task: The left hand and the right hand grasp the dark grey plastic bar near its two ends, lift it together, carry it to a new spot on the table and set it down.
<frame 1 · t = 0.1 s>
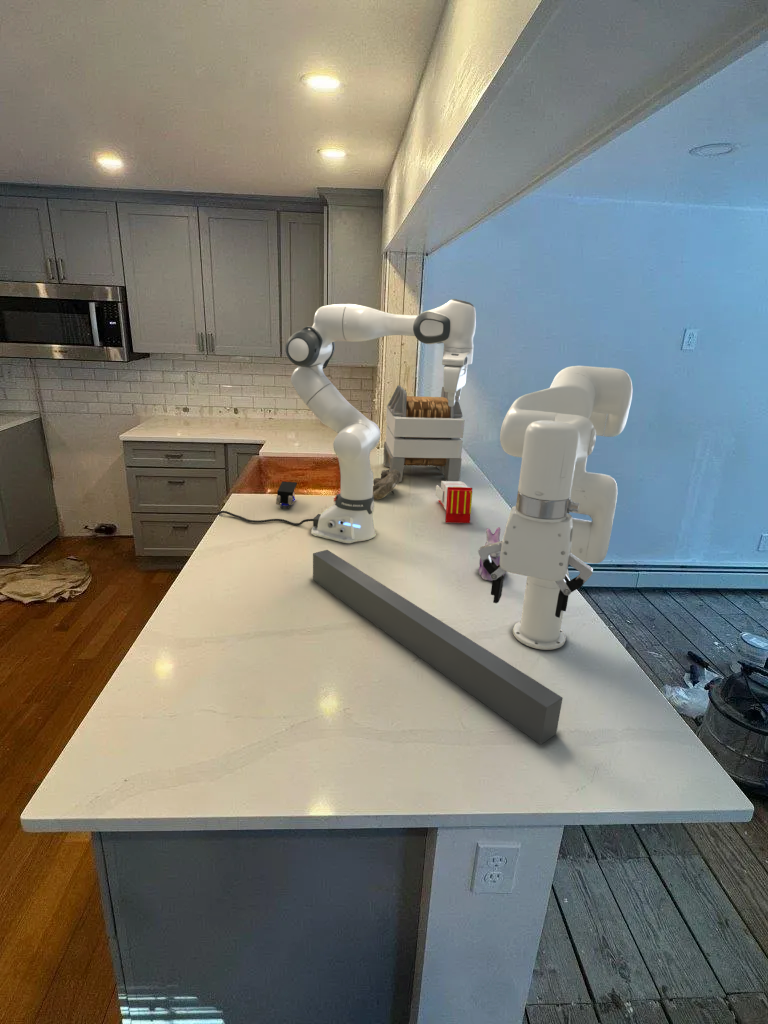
left hand: (453, 403, 174), 48 cm above the counter, tool pointing down, fingers open, 8 cm apart
right hand: (527, 606, 90), 31 cm above the counter, tool pointing down, fingers open, 9 cm apart
bar: (409, 641, 136), on the counter
toy: (452, 511, 225), on the counter
fossil: (384, 493, 242), on the counter
grey slatted crate stand: (419, 473, 275), on the counter
figurine: (491, 575, 172), on the counter
figurine character: (286, 504, 224), on the counter
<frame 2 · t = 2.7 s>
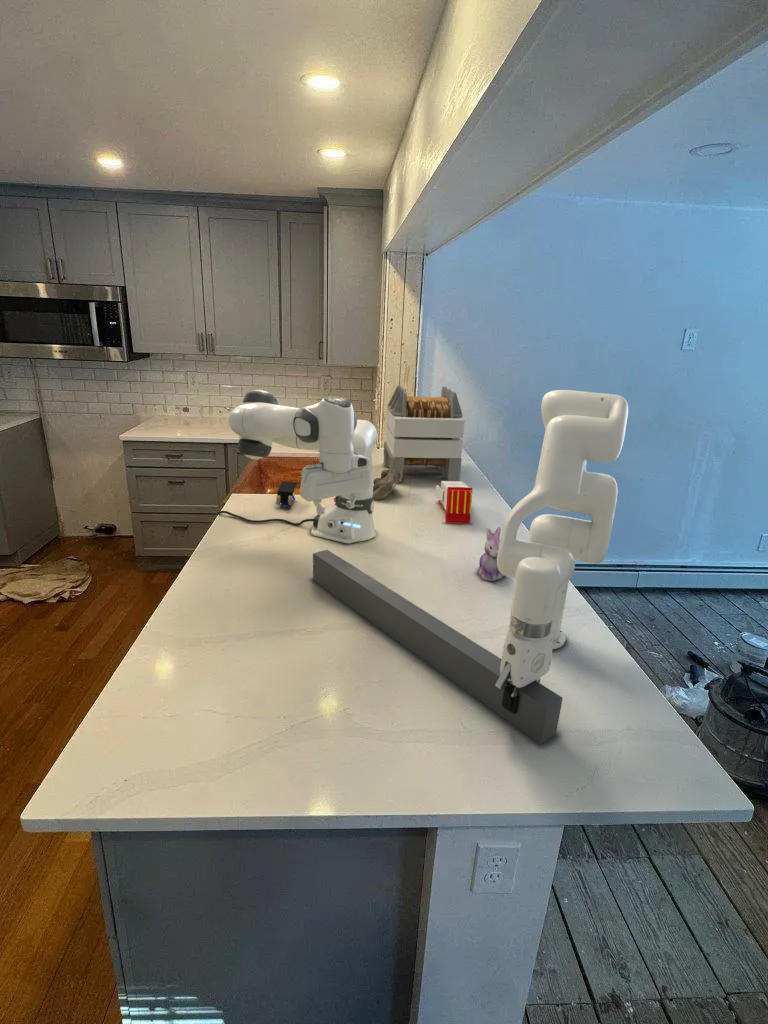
left hand: (335, 510, 152), 23 cm above the counter, tool pointing down, fingers open, 8 cm apart
right hand: (518, 703, 111), 3 cm above the counter, tool pointing down, fingers closed on bar, 4 cm apart
bar: (409, 641, 136), on the counter, touching right hand
everything else where it was.
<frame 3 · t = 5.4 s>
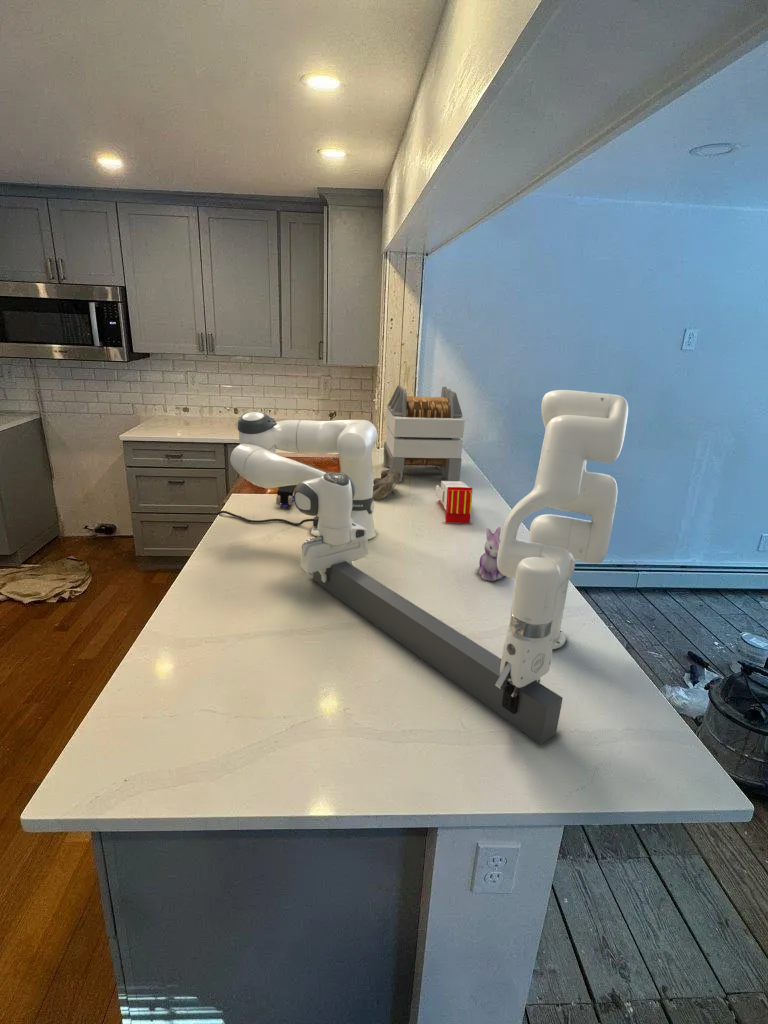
left hand: (334, 578, 159), 3 cm above the counter, tool pointing down, fingers closed on bar, 5 cm apart
right hand: (518, 703, 111), 3 cm above the counter, tool pointing down, fingers closed on bar, 4 cm apart
bar: (409, 641, 136), on the counter, touching left hand, right hand
everything else where it was.
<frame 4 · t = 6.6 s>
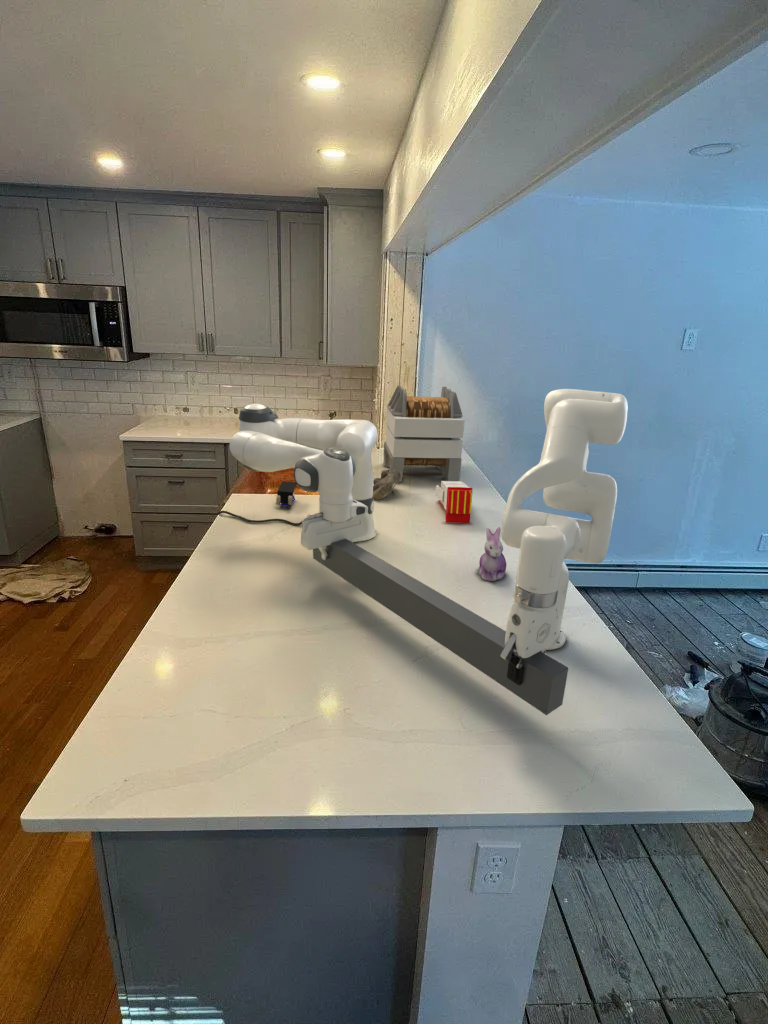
left hand: (335, 556, 157), 10 cm above the counter, tool pointing down, fingers closed on bar, 5 cm apart
right hand: (523, 674, 109), 9 cm above the counter, tool pointing down, fingers closed on bar, 4 cm apart
bar: (411, 616, 134), point 6 cm above the counter, touching left hand, right hand
everything else where it was.
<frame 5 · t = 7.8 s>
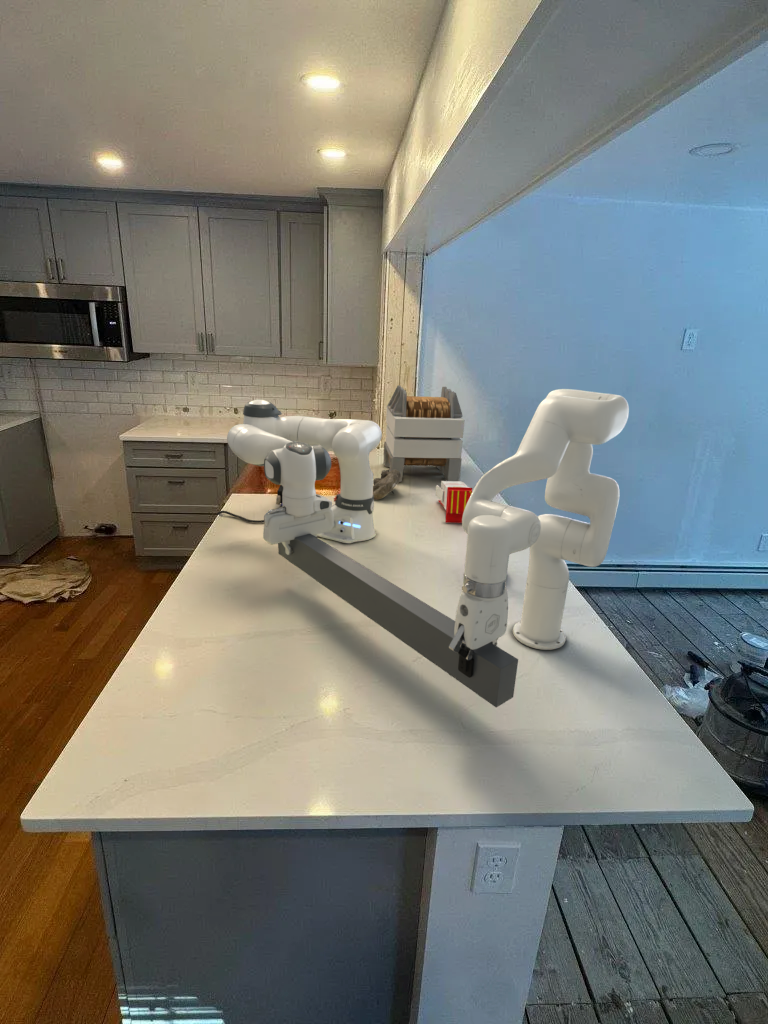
left hand: (299, 551, 156), 11 cm above the counter, tool pointing down, fingers closed on bar, 5 cm apart
right hand: (475, 667, 108), 11 cm above the counter, tool pointing down, fingers closed on bar, 4 cm apart
bar: (371, 610, 133), point 8 cm above the counter, touching left hand, right hand
everything else where it was.
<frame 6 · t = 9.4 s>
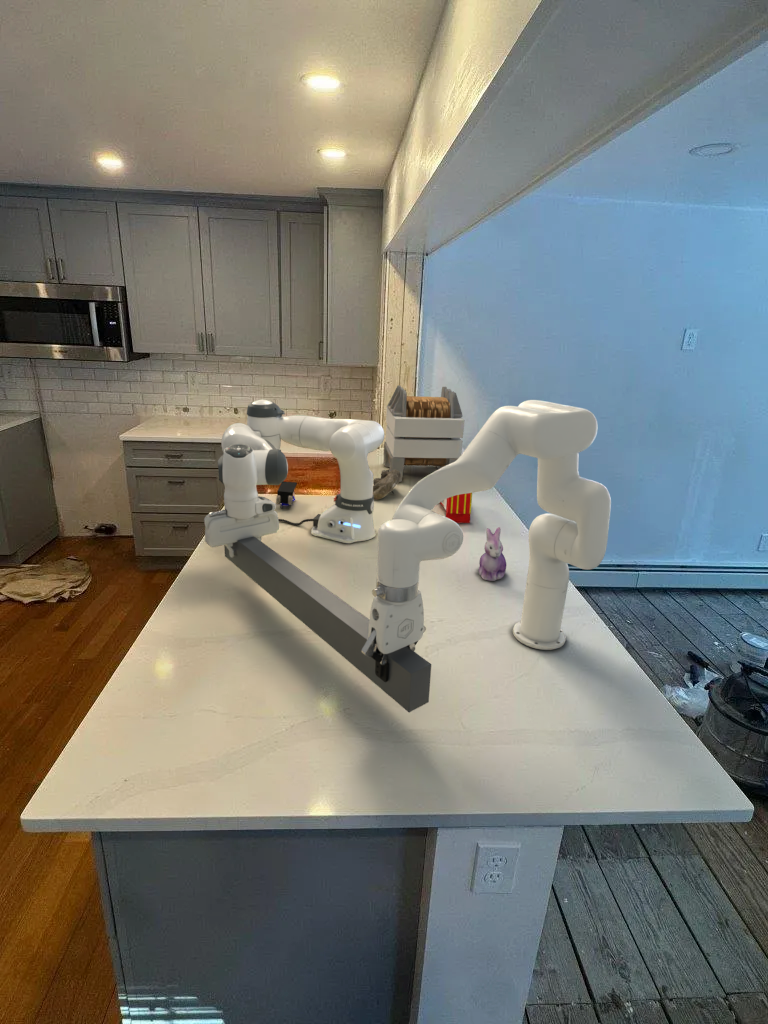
left hand: (244, 553, 156), 10 cm above the counter, tool pointing down, fingers closed on bar, 5 cm apart
right hand: (393, 672, 108), 10 cm above the counter, tool pointing down, fingers closed on bar, 4 cm apart
bar: (305, 614, 133), point 7 cm above the counter, touching left hand, right hand
everything else where it was.
when the left hand's fingers open (5 cm above the counter, at t = 10.5 s): bar stays where it is, on the counter.
when the right hand's fingers open (4 cm above the counter, at t = 10.5 s): bar stays where it is, on the counter.
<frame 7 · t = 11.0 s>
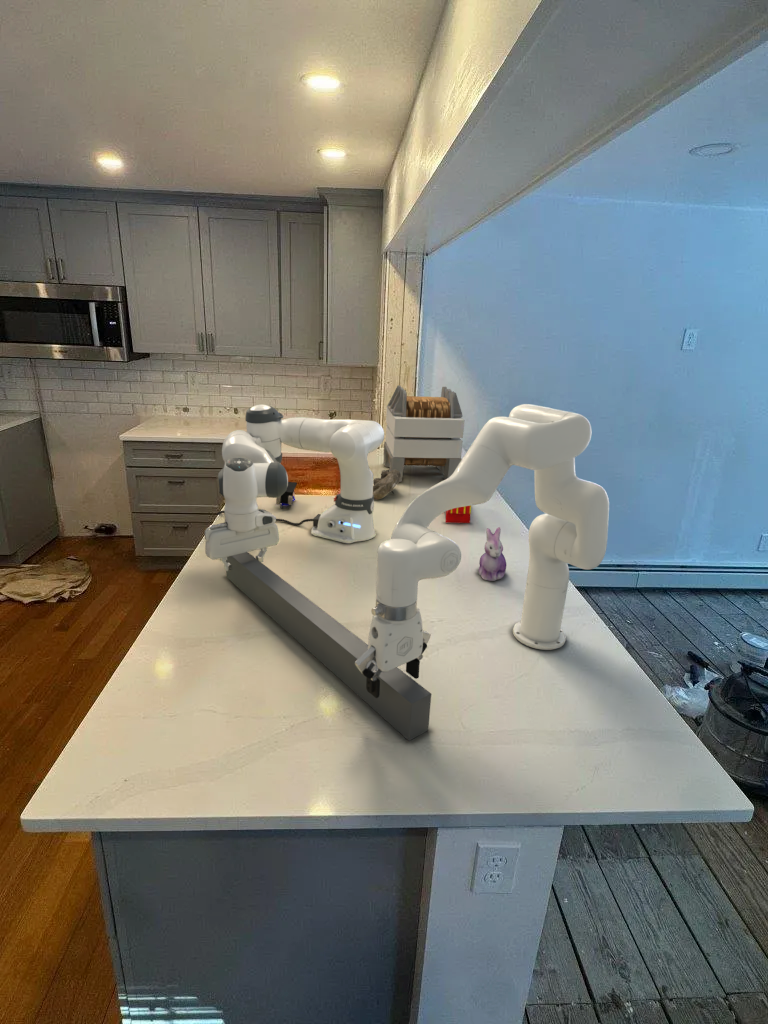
left hand: (244, 565, 157), 6 cm above the counter, tool pointing down, fingers open, 8 cm apart
right hand: (393, 684, 109), 7 cm above the counter, tool pointing down, fingers open, 9 cm apart
bar: (306, 638, 135), on the counter
everything else where it was.
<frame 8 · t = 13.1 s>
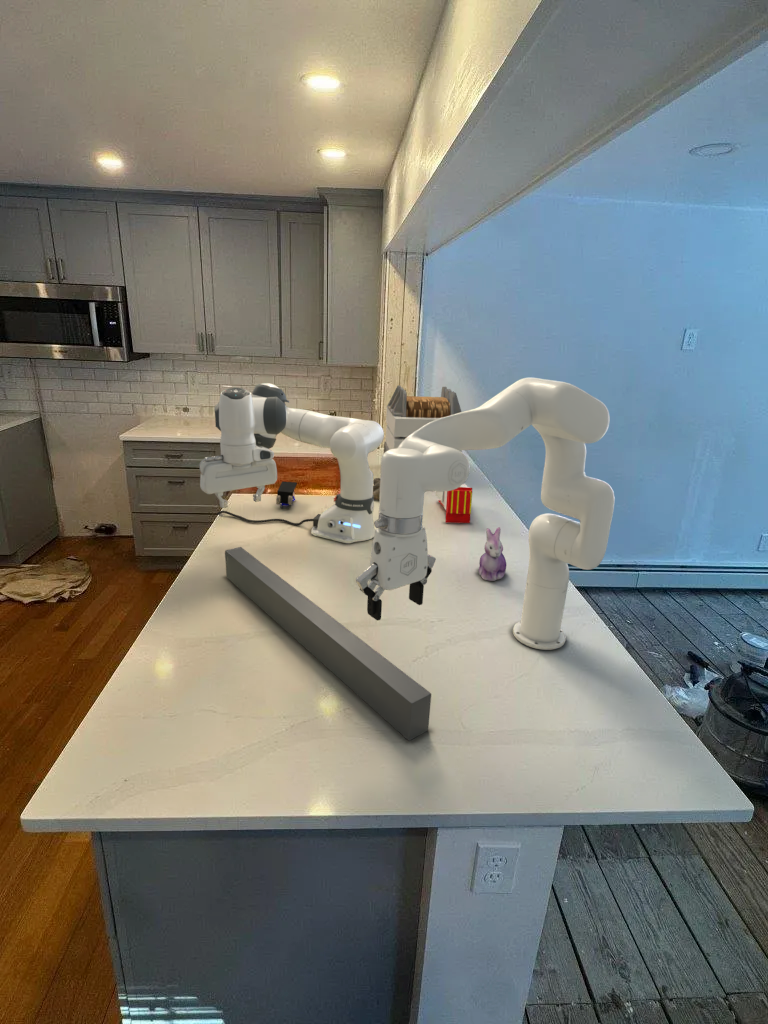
left hand: (240, 504, 150), 24 cm above the counter, tool pointing down, fingers open, 8 cm apart
right hand: (395, 609, 103), 23 cm above the counter, tool pointing down, fingers open, 9 cm apart
nothing on the counter moved.
at the end: bar inside the target area (0.6 cm from its centre), on the counter; bar tilted 0°; bar never tilted more than 2° during the clip; both hands held the bar at the same time; the left hand is holding nothing; the right hand is holding nothing; bar at rest at the end (0.0 cm/s) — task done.
